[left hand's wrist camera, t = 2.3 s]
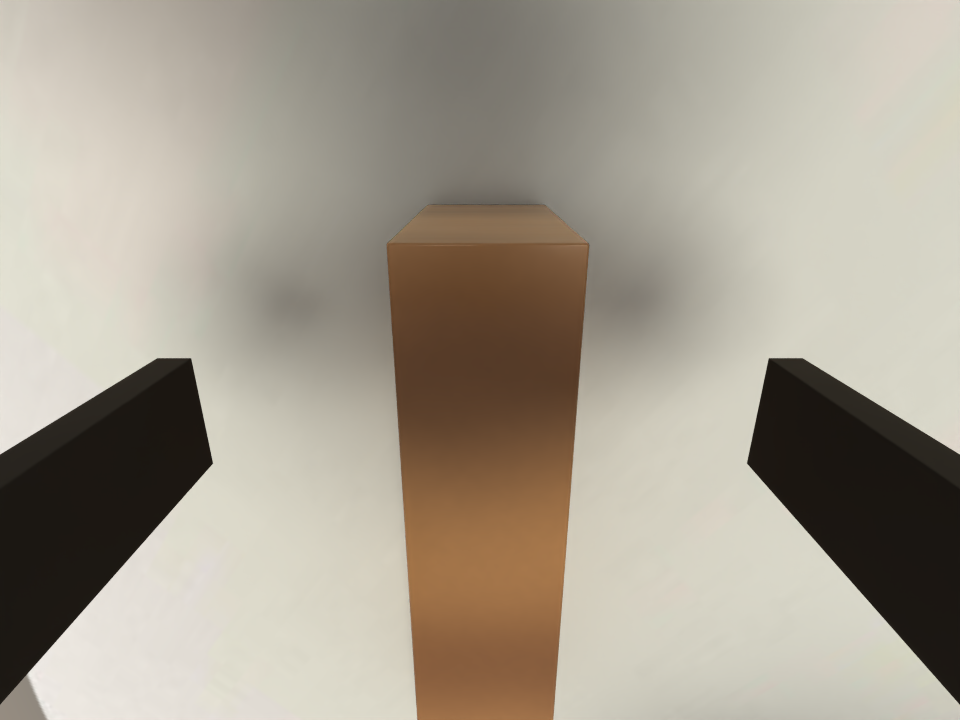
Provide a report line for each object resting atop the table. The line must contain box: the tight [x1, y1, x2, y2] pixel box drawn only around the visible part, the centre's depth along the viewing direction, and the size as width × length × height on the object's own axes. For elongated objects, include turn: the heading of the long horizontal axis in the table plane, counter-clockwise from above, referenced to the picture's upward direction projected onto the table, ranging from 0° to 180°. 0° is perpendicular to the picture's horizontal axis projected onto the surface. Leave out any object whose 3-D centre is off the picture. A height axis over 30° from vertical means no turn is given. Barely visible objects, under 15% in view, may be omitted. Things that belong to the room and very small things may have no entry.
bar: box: [387, 205, 589, 720], centre depth 21 cm, size 27×4×9 cm, turn 0°
